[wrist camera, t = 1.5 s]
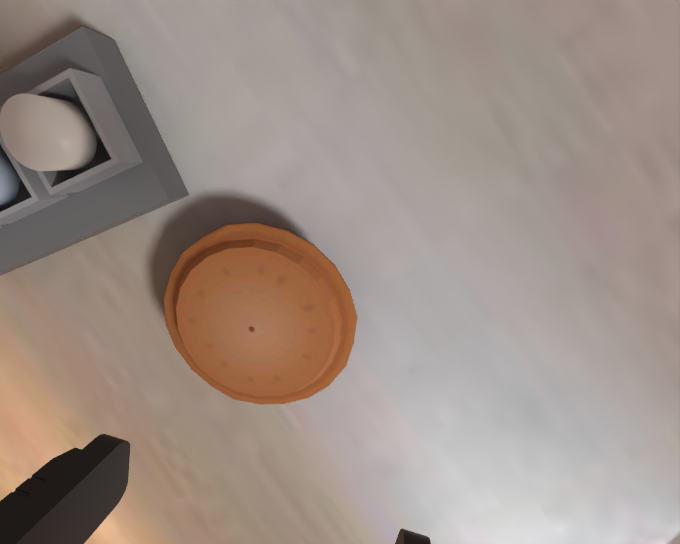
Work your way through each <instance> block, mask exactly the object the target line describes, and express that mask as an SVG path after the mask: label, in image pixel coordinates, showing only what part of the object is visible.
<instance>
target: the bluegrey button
mask: <svg viewBox="0 0 680 544" xmlns="http://www.w3.org/2000/svg"><path fill="white" fill-rule="evenodd" d="M18 190H19V177H18V173H17V171H16V169H15V168H14V166H13V164H12V163H11V161H10V159H9V158H8V156H7V154H6V153H5V152H4V151H3V150H2V149H0V206H2V205H6V204H9V203H10V202H12V201H13V200H14V199H15V197H16V196H17V193H18Z"/></svg>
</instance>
